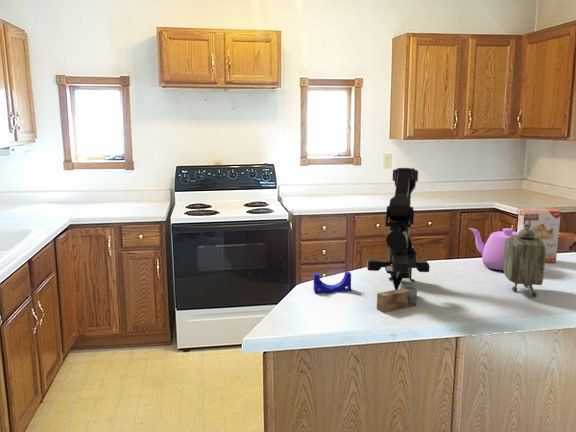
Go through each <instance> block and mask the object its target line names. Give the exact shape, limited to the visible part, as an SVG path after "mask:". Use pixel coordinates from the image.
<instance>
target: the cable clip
mask: <svg viewBox="0 0 576 432" xmlns="http://www.w3.org/2000/svg"><path fill="white" fill-rule="evenodd" d="M341 291H342V292H351V291H352V273H351V272H350V271H344V276H343V278H342V279H341V281H340V282H337V283H335V284H327V283H325V282H323V280H321V278H320V273H319V272H318V271H317V272H313V292H314V294H317V295H321V294H323V293H324V294H334V293H336V292H341Z"/></svg>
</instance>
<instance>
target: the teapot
mask: <svg viewBox="0 0 576 432" xmlns="http://www.w3.org/2000/svg"><path fill="white" fill-rule="evenodd" d="M468 230H470V231H471V232H472V233H473V235H474V238H475V245H476V246H475V247H476V249H477V251H478V252H479V253H480V254H481V255H482V256H481V260H482V262H483V264H484V267H486V268H489V269H490V268H491V269H490V270H498V271H499V270H500V271H504V250H505V241H506V239H507V238H509V237H511V236H517V235H518V233H517V231H514V229H513V228H508V227H506V228H502V230H501V231H493V232H492V233H490V234H489V236H488V239H487V240H486V243H484V242H483V240H482V237H481V233H480V232H479V230H478V229H475V228H472V227H468Z"/></svg>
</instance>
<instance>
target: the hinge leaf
mask: <svg viewBox="0 0 576 432" xmlns="http://www.w3.org/2000/svg"><path fill="white" fill-rule="evenodd" d="M398 289H403V290H406V291H408V299H415V298H417V299H418V288H416V287H415V286H414V284H413V282H411V281H410V279H409V278H403V279H402V281H401V283H400V285H399V288H398Z"/></svg>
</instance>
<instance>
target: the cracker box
mask: <svg viewBox="0 0 576 432" xmlns="http://www.w3.org/2000/svg"><path fill="white" fill-rule="evenodd" d="M561 214H562V211H561V210H558V209H554V208H519V209H518V218H517V227H516V229H517V231H516V232H517V233H519V232H520V231H521V230H525V227H524V217H525V216H526V215H527V216H529V218H530V228H529V229H528V230H531V231H532V232H533V233H534V235H535V237H538V238H540V239H541V240H542V241H543V242H544V244H545V264H556V263H557V255H558V254H557V253H558V244H559V234H560V225H561ZM525 224H528V226H529V221H528V218H527V217H526V219H525Z"/></svg>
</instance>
